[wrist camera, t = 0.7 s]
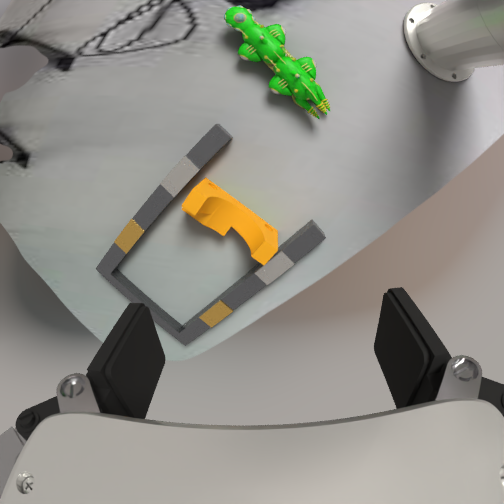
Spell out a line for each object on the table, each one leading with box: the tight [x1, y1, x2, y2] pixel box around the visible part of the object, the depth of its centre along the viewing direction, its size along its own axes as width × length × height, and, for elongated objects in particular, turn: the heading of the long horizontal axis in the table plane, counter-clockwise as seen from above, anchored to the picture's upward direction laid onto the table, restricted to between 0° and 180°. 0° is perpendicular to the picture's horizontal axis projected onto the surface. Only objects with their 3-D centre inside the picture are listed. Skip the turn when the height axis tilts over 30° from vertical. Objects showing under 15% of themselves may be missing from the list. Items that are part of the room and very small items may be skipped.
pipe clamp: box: [182, 178, 278, 265], centre depth 36 cm, size 12×4×6 cm, turn 52°
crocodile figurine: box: [224, 6, 330, 119], centre depth 28 cm, size 7×18×4 cm, turn 39°
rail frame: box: [96, 124, 326, 346], centre depth 41 cm, size 30×20×2 cm
